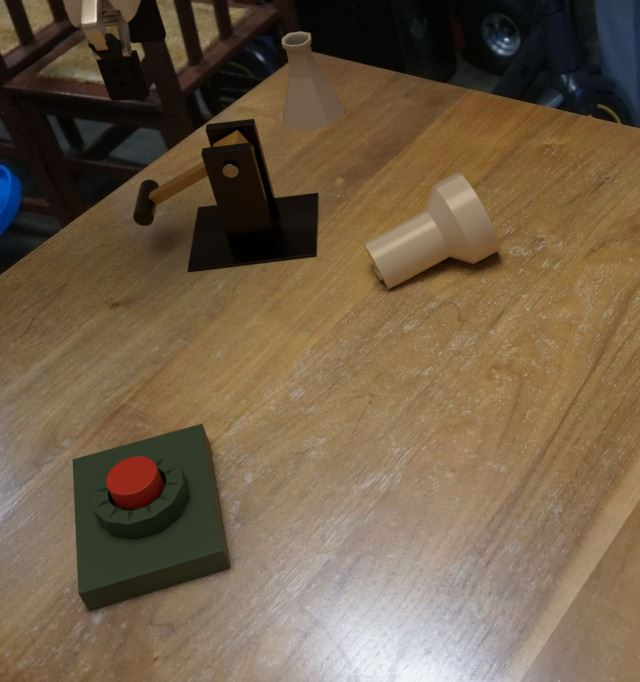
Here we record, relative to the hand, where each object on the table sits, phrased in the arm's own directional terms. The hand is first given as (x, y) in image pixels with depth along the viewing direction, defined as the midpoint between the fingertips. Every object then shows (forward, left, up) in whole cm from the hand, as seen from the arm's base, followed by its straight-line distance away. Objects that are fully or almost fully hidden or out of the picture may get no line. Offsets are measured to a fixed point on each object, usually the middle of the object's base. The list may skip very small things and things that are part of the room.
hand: (140, 67), depth 93 cm
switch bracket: (+3, +5, -20) cm, 20 cm away
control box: (+27, -19, -20) cm, 39 cm away
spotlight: (+19, +15, -20) cm, 31 cm away
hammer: (+1, +2, -13) cm, 13 cm away
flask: (-11, +21, -20) cm, 31 cm away
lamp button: (+27, -19, -16) cm, 37 cm away
